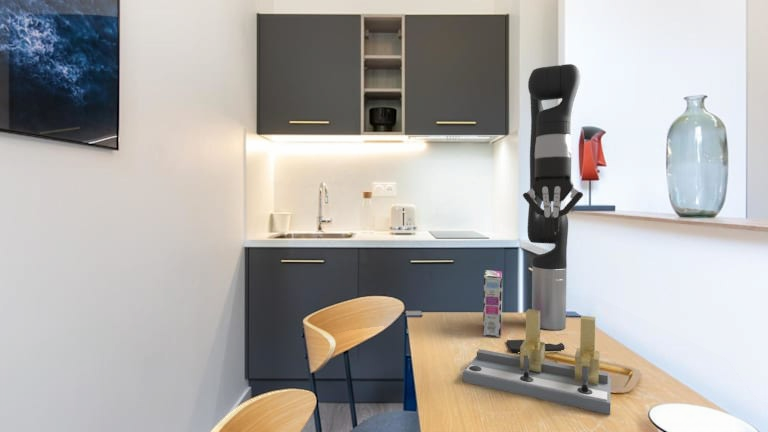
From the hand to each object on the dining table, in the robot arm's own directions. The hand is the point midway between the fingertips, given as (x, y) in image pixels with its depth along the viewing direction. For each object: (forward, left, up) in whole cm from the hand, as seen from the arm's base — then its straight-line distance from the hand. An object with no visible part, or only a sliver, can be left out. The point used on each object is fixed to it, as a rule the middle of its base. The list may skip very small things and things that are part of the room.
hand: (551, 234), depth 91 cm
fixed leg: (+14, +8, -27) cm, 31 cm away
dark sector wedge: (-6, -5, -30) cm, 31 cm away
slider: (+14, -2, -27) cm, 30 cm away
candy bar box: (-15, -17, -29) cm, 37 cm away
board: (+14, -1, -29) cm, 32 cm away
